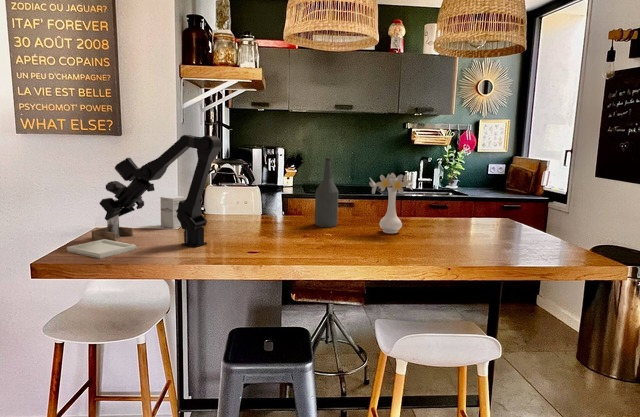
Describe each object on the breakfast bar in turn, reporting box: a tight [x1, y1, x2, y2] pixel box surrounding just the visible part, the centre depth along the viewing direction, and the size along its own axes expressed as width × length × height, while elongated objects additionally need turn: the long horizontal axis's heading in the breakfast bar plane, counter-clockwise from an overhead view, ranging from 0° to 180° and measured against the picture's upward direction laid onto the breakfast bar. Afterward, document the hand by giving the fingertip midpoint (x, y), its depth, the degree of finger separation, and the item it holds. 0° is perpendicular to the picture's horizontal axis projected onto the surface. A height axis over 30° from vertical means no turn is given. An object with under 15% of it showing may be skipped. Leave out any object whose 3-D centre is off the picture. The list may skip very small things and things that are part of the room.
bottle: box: [314, 157, 339, 228], centre depth 207 cm, size 10×10×30 cm
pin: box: [106, 199, 121, 239], centre depth 174 cm, size 4×4×14 cm
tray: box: [66, 239, 137, 260], centre depth 156 cm, size 16×14×2 cm
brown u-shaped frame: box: [91, 226, 134, 241], centre depth 175 cm, size 10×10×3 cm
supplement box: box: [160, 195, 186, 229], centre depth 197 cm, size 7×7×13 cm
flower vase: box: [368, 172, 413, 234], centre depth 196 cm, size 13×18×25 cm
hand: (109, 218), depth 174 cm, fingers closed on pin, 4 cm apart
